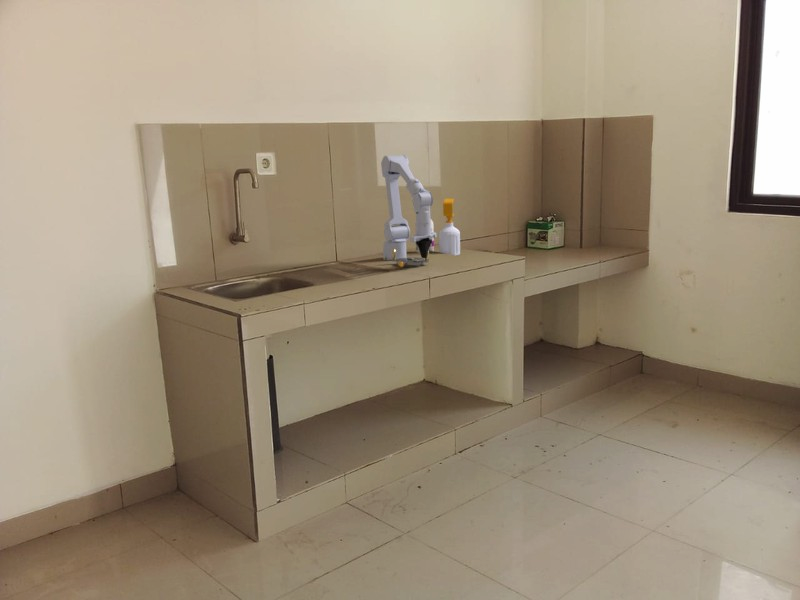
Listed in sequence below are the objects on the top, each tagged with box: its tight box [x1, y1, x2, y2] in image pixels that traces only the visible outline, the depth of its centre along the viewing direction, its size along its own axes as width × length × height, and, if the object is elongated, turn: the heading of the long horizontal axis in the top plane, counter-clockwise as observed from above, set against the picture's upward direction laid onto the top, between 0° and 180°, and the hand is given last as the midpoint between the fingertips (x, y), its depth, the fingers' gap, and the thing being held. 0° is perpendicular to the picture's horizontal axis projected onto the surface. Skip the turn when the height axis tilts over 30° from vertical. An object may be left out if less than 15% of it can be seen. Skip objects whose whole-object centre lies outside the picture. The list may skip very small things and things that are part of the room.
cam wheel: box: [391, 249, 430, 268], centre depth 268 cm, size 16×17×6 cm
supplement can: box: [414, 218, 435, 253], centre depth 307 cm, size 8×8×15 cm
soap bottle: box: [438, 198, 461, 257], centre depth 297 cm, size 9×9×25 cm
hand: (424, 257), depth 266 cm, fingers closed
